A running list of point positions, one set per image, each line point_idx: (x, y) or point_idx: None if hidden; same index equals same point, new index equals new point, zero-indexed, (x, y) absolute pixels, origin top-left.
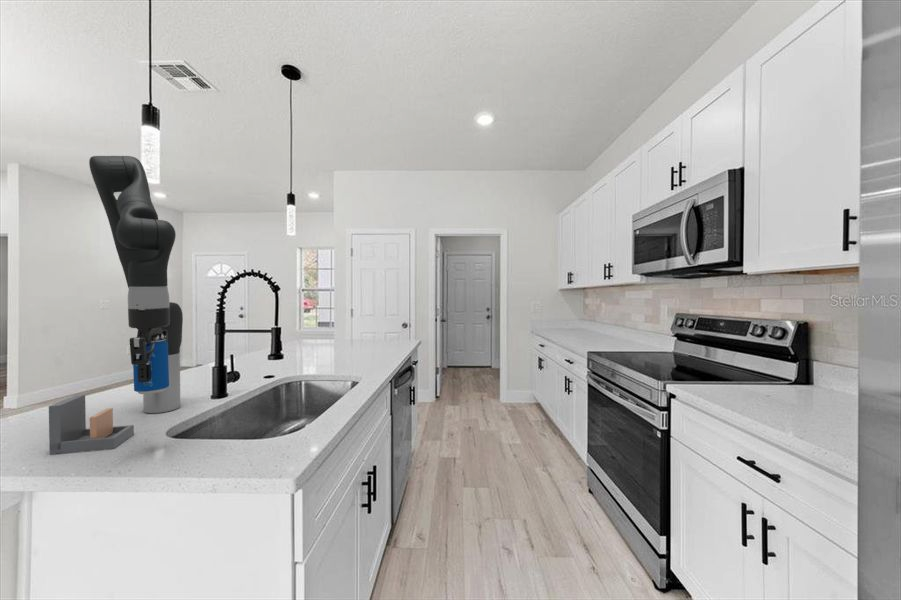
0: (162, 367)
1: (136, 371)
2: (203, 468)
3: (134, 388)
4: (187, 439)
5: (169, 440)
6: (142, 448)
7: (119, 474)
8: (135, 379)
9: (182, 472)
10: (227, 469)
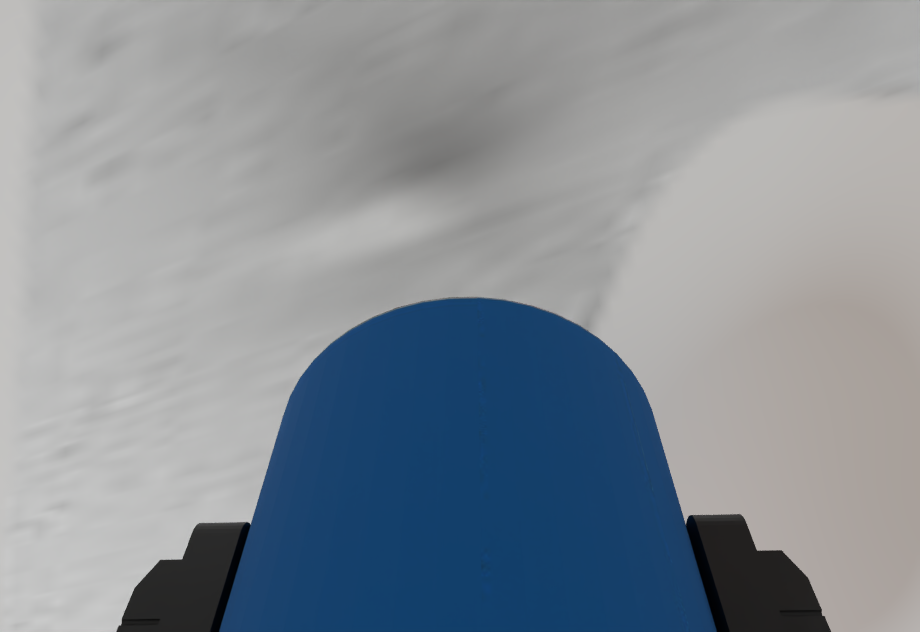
0: None
1: (237, 597)
2: (105, 508)
3: (338, 353)
4: (590, 306)
5: (612, 199)
6: (495, 75)
7: (49, 137)
8: (289, 467)
9: (62, 439)
10: (87, 595)
